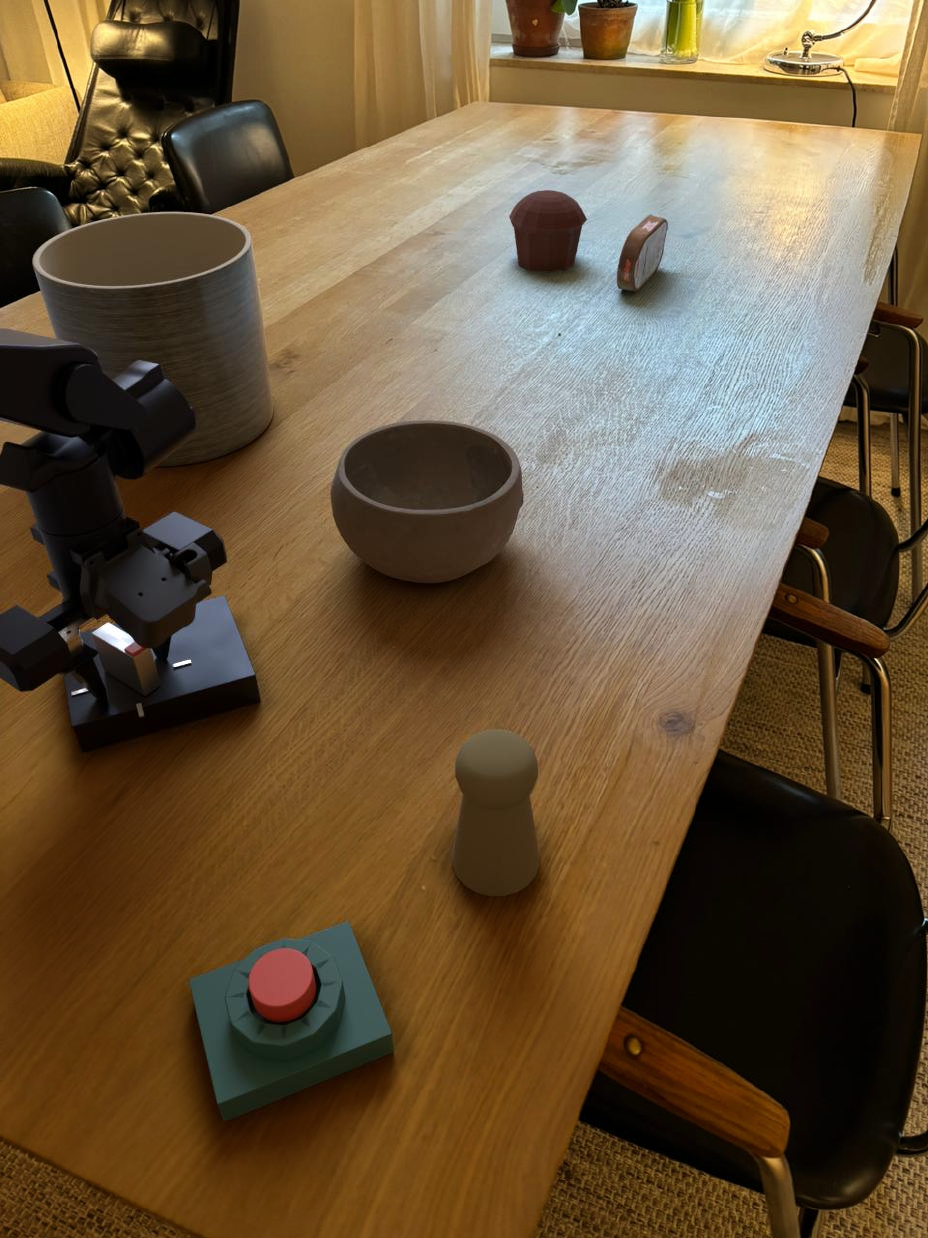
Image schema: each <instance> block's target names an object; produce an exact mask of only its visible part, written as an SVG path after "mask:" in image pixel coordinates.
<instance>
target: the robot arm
mask: <svg viewBox="0 0 928 1238" xmlns="http://www.w3.org/2000/svg"><path fill="white" fill-rule="evenodd" d="M98 359H99V358H98V355H97V353H96V352H95V351H94V350H92V349H91V348H89V347H87V346H84V345H82V344H78V343H74V342H69V341H64V340H59V339H56V338H55V337H48V336H45V335H40V334H36V333H32V332H31V333H30V332H27V331H26V332H25V331H21V330H17V329H11V328H4V327H2V328H0V421H1V422H3V423H4V422H5V423H8V424H12V425H15V426H16V425H17V426H20V427H24V428H28V429H33V430H37V431H38V432H37V433H35V434H33V436H31V437H30V438H28V439H27V440H25V441H24V442H22V443H20V444H19V443H15V442H12V441H4V442H3V444H2V447H1V448H2V449H1V451H0V485H1V486H4V487H9V488H11V489H15V490H19V491H22V492H25V494H26V496H27V499H28V502H29V505H30V507H31V511H32V513H33V516H34V519H35V522H36V523H35V524H32V526H30V527H29V530H30V533H31V536H32V539H33V540H34V541H36V542H38V543H39V544H41V545H43V546H44V548H45V550H46V553H47V556H48V559H49V563H50V565H51V567H52V571H50V572H48V573H47V574H46V578H47V581H48V583H49V586H50V587H52V588H54V589H55V590H56V591H59V592H60V593H61V596H62V599H61V600H60V603H59V604H57V605H56V606H54V607H53V608H51V609H50V610H47V611H46V612H45V613H43V614H41V615H39V616H36V615H35V614H33V613H31V612H29V611H28V610H26V609H25V608H23V607H22V606H20V605H18V604H15V605H14V606H12V607H11V608H9V609H7V610H6V611H4V612H2V613H0V679H1V680H2V681H4V682H5V683H7V684H8V685H10V686H11V687H12V688H14V689H16V690H17V691H18V692H20V693H24V692H32V691H35V690H36V689H38V688H39V687H41V686H42V685H44V684H45V683H47V682H48V681H50V680H51V679H53V678H55V677H56V676H57V675H62V676H63V675H66V674H69V673H70V674H71V675H72V676H73V677H74V678H75V679H76V680H77V681H78V682H79V683H80V684H81V685H82V686H84V687H85V688H86V689H87V690H88V691H89V692H90V693H91V694H92V695H93V696H94V697H95V698H96V699H98V700H99V701H101V702H102V703H105V702H106V701H108V697H107V692H106V688H105V686H104V683H103V681H102V679H101V676H100V674H99V672H98V669H97V667H96V664H95V662H94V660H93V658H94V657H95V656H96V655H97V654H98V651H96V650H95V649H93V648H91V647H90V646H88V645H87V644H85V643H83V642H82V639H81V636H80V632H81V629H83V628H84V627H86V626H87V625H89V624H90V623H92V622H93V621H95V620H97V621H99V620H100V619H102V618H103V617H105V616H106V615H107V616H108V618H110V619H111V621H113V622H114V624H115V623H116V624H117V625H119V626H120V627H121V628H122V629H123V630H124V631H125V632H126V633H127V634H129V635H130V636H131V637H132V638H133V640H134V641H135V642H136V643H137V644H138V645H139V646H141V647H143V648H147V649H151V648H152V650H153V652H154V654H155V656H156V657H157V658H159V659H161V660H163V661H164V660H166V659H167V658H168V654H169V649H170V643H171V637H172V635H173V634H175V633H176V632H178V631H179V630H181V629H182V628H184V627H187V626H189V625H190V624H191V623H192V622H193V621H194V619H195V613H196V604H197V603H199V602H201V601H204V600H206V599H207V598H208V597H209V596H211V595H212V594H213V590H212V588H211V587H210V586H212V583H213V572H215V571H216V570H218V569H219V568H221V567H222V566H224V565H225V564H226V563H228V553H227V549H226V545H225V544H226V543H225V540H224V538H223V536H221V534H220V533H219V532H218V530H216V529H213V528H212V527H209V526H208V525H206V524H203V523H201V522H199V521H197V520H195V519H193V518H191V517H189V516H187V515H185V514H183V513H180V512H178V511H175V510H174V511H172V512H171V513H169V514H167V515H165V516H164V517H162V518H160V519H159V520H157V521H155V522H154V523H152V524H150V525H149V526H147V527H145V528H143V529H141V525H140V522H139V521H137V520H135V519H134V518H131V517H129V516H127V513H126V510H125V507H124V503H123V499H122V496H121V492H120V488H119V484H118V482H117V477H119V478H121V479H124V480H132V481H133V480H138V479H141V478H143V477H144V476H145V475H146V474H147V473H149V472H150V471H151V470H153V469H154V468H156V467H157V466H156V465H158V464H159V463H160V462H162V461H163V460H164V459H165V458H167V457H168V456H169V455H171V454H172V453H173V452H175V451H176V450H177V449H179V448H180V447H181V446H182V445H184V444H185V443H186V442H188V441H189V440H190V439H191V438H192V437H193V435H194V433H195V431H196V416H195V412H194V409H193V408H192V407H190V405H189V403H188V401H187V400H186V398H185V397H184V395H183V394H182V393H181V392H180V391H179V390H178V389H177V388H176V386H174V385H173V384H172V383H171V382H169V381H168V380H166V379H165V378H164V374H163V369H162V366H161V365H160V364H156V363H151V362H147V361H142V360H137V361H136V362H134V363H133V364H131V365H130V366H128V367H127V368H126V369H125V371H124V372H123V373H121V374H120V375H119V376H117V377H116V378H114V379H110V378H109V377H108V376H107V375H106V374H104V373H103V372H102V367H101V365H100V363H99V361H98ZM116 476H117V477H116Z"/></svg>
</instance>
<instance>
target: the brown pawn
mask: <svg viewBox="0 0 928 1238" xmlns="http://www.w3.org/2000/svg"><path fill="white" fill-rule="evenodd" d="M538 764H539V763H538V759H537V756H536V753H535V751H534V749H533V747H532V745H531V744H530V743H529V742H528V741H526V740H525V739H524V738H523V737H522V736H521V735H519V734H517V733H516V732H513V731H512V730H511V731H510V730H506V729H502V728H501V729H499V728H498V729H495V728H492V729H487V730H482V731H479V732H478V733H476V734H474V735H471V737H469V738H468V739H467V740H466V741H465V742H464V743H463V744H462V745H461V747H460V749H459V751H458V753H457V755H456V758H455V762H454V773H455V774H454V776H455V777H454V778H455V779H456V782H457V785H458V787H459V790H460V792H461V793H462V794H461V795H462V796H461V800H460V807H459V813H458V817H457V824H456V829H455V836H454V841H453V848H452V851H451V852H452V853H451V866H452V869H453V871H454V874H455V877H456V878H457V879H458V880H459V881H460V882H461V883H462V885H463V886H465V887H466V888H468V889H469V890H471V891H473V892H474V893H477V894H480V895H482V896H486V897H506V896H510V895H513V894H517V893H519V892H521V891H522V890H523V889H525V888H526V887H528V886H529V885H530V884H531V883H532V881H533V880H534V879H535V878H536V877H537V874H538V871H539V868H540V864H541V863H540V851H539V843H538V838H537V832H536V826H535V825H536V824H535V819H534V812H533V805H532V799H531V794H532V792H533V790H534V788H535V785H536V782H537V781H538V775H539V765H538Z"/></svg>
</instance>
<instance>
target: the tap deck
mask: <svg viewBox="0 0 928 1238" xmlns="http://www.w3.org/2000/svg"><path fill="white" fill-rule="evenodd" d="M111 624H112V625H113V626H115V627H117V628H119V629H120V630H122V631H124V630H123V629H122V628H121V627H120V626H119V625H117V624H116V623H115V622H114V623H111ZM98 628H99V627H97V628H92V629H89V630H85V631H80V636H81V639H82V642H83V643H85V644H87V645H88V646H90V647H91V648H93V649H95V650H96V651H97V648H96V645H95V642H94V639H93V636H92V634H91V633H92V632H94V631H95V630H97V629H98ZM124 632H125V631H124ZM125 633H126V632H125ZM151 652H152V655H153V659H154V662H155V666H156V669H157V672H158V676H159V679H160V683H161V686H159V687H158V688H156V689H155V690H154V691H152V692H151V693H149V694H148V695H147V696H144V695H142V694H140V693H139V692H137V691H136V690H134V689H132V688H131V687H129V686H128V685H126V684H124V683H123V682H121V681H120V680H118V679H116V678H115V677H113V676H112V675H110V674H108V673H107V672H105V671H104V669H103V666H102V663H101V660H100V657H99V654H97V655H96V656H95V657H94V658H93V660H94V662H95V664H96V667H97V669H98V672H99V674H100V676H101V679H102V681H103V683H104V686H105V688H106V692H107V697H108V701H106V702H105V703H102V702H101V701H99V700H98V699H96V698H95V697H94V696H93V695H92V694H91V693H90V692H89V691H88V690H87V689H86V688H85V687H84V686H82V685H81V684H80V683H79V682H78V681H77V680H76V679H75V678H74V677H73V676H72V675H71V674H70V673H69V674H66V675H62V676H63V681H64V688H65V694H66V701H67V706H68V707H67V708H68V712H69V719H70V724H71V729H72V731H73V733H74V737H75V740H76V741H77V744H78V747H79V749H80V752H81V754H85V753H89V752H93V751H96V750H100V749H103V748H106V747H109V746H113V745H116V744H119V743H124V742H126V741H127V742H128V741H130V740H135V739H137V738H141V737H144V736H147V735H151V734H154V733H157V732H161V731H164V730H169V729H172V728H175V727H178V726H182V725H185V724H189V723H192V722H195V721H198V720H202V719H206V718H209V717H213V716H216V715H220V714H223V713H226V712H230V711H233V710H236V709H240V708H244V707H247V706H250V705H253V704H258V703H260V702H262V700H261V699H262V698H261V693H260V690H259V684H258V678H257V674H256V671H255V669H254V666H253V664H252V662H251V659H250V657H249V653H248V651H247V648H246V646H245V644H244V641H243V638H242V635H241V632H240V630H239V628H238V625H237V623H236V620H235V618H234V614H233V612H232V609H231V607H230V604H229V601H228V599H227V597H226V595H220V596H217V597H216V596H215V597H213V598H209V599H204V600H202V601H200V602H199V603H197V604H196V613H195V619H194V621H193V622H192V623H191V624H190V625H189V626H187V627H184V628H182V629H181V630H179V631H178V632H176V633H175V634H173V635H172V637H171V643H170V649H169V654H168V658H167V659H166V660H164V661H163V660H161V659H159V658H157V657H156V656H155V654H154V652H153V650H152V648H151Z"/></svg>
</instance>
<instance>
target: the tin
mask: <svg viewBox="0 0 928 1238" xmlns="http://www.w3.org/2000/svg"><path fill="white" fill-rule="evenodd" d="M668 229H669V222H668V220H667V219H666V218H665V217H661V216H656V215H653V214H648V215H646V216H645V218H643V219H641V221H640V222H639V223H638V224H637V225H635V226H634V227H633V228H632V229H631V230H630V231H629V232H628V235H627V236H626V239H625V240H624V243H623V245H622V249H621V252H620V256H619V259H618V264H617V270H616V286H617V288H618V289H619V290H625V291H629V292H638V291H639V290H640V289H642V287H643V286H644V285H645V284H647V282H648V281H649V280H650V279H651V278H652V277H653V275H655V273H656V272H657V270H658V269H659V267H660V264H661V262H662V259H663V256H664V251H665V243H666V239H667V234H668V233H667V232H668Z"/></svg>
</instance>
